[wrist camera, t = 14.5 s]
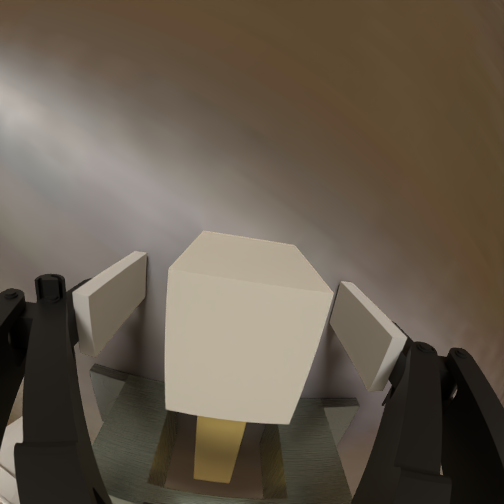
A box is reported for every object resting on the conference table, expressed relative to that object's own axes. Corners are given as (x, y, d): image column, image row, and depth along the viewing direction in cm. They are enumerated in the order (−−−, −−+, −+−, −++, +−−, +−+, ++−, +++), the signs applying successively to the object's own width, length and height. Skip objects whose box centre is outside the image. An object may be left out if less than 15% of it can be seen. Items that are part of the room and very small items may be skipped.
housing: (106, 413, 18) (65, 498, 8) (94, 363, 17) (30, 456, 7) (331, 442, 19) (357, 531, 9) (355, 397, 18) (401, 498, 8)
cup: (35, 373, 17) (-39, 462, 4) (125, 455, 20) (91, 555, 6) (8, 399, 19) (-41, 462, 5) (77, 464, 21) (46, 533, 8)
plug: (186, 451, 19) (175, 512, 12) (203, 230, 15) (168, 268, 8) (241, 458, 19) (241, 520, 13) (294, 245, 15) (333, 293, 8)
